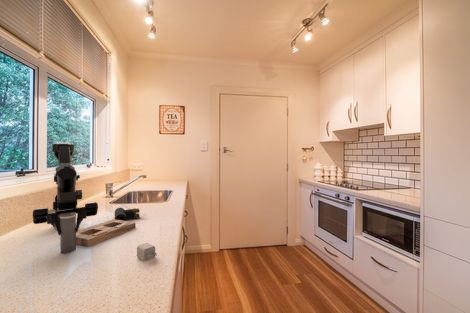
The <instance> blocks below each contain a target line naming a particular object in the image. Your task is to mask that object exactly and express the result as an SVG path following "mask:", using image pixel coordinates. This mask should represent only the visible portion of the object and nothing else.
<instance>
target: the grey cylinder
mask: <svg viewBox="0 0 470 313" xmlns="http://www.w3.org/2000/svg"><path fill="white" fill-rule="evenodd" d="M76 222H77V214H76V212H67V213H63V214H60V235H59V236H60V237H59V238H60V241H59V242H60V243H59V244H60V245H59V246H60V249H59V250H60V254H69V253H73V252H75V251H76V250H77V244H76Z"/></svg>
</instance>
